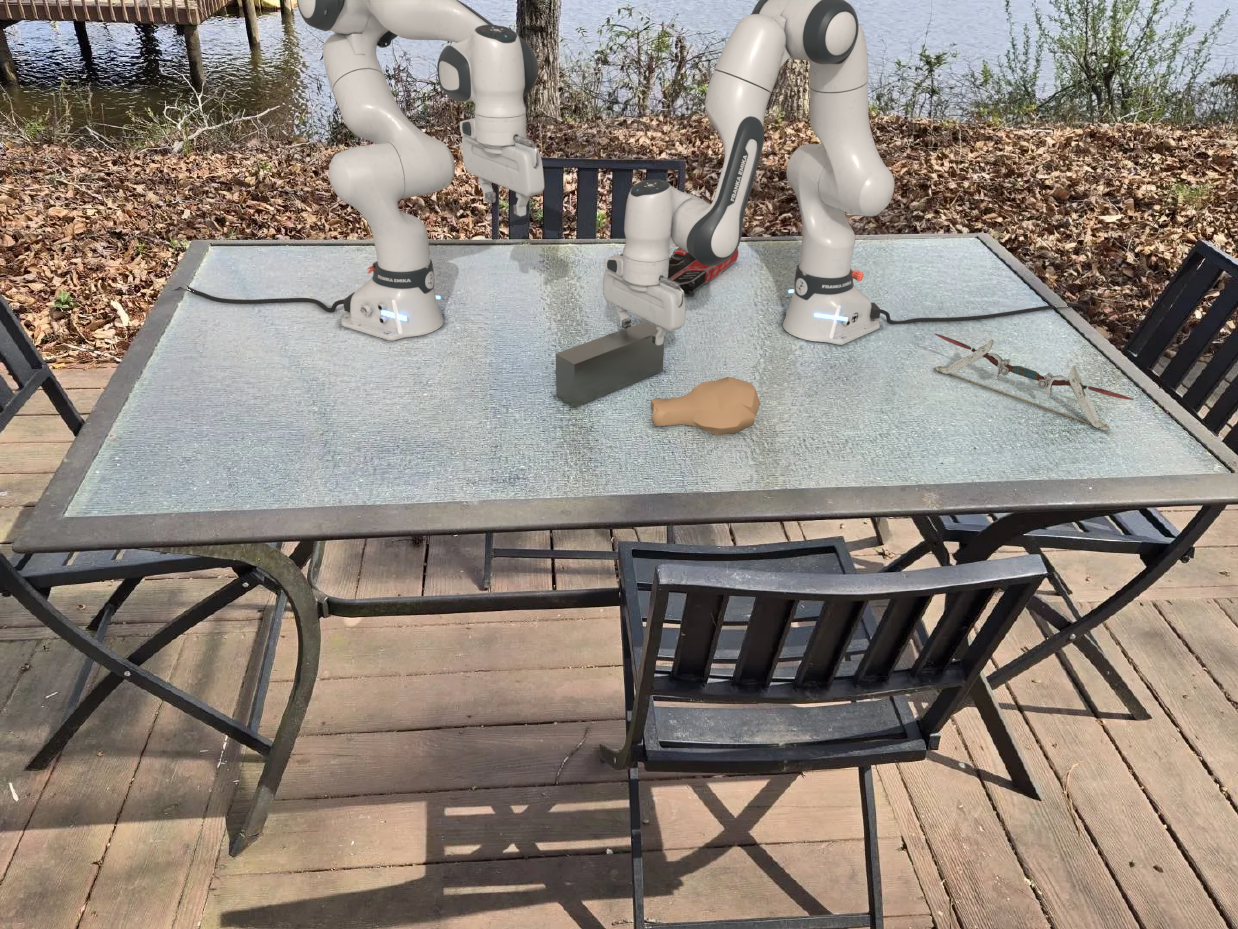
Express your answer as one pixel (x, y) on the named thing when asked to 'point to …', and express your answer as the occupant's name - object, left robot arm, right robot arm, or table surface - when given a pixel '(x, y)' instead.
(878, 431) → the table surface
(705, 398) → the squash
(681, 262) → the gun
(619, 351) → the bar
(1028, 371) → the bow
